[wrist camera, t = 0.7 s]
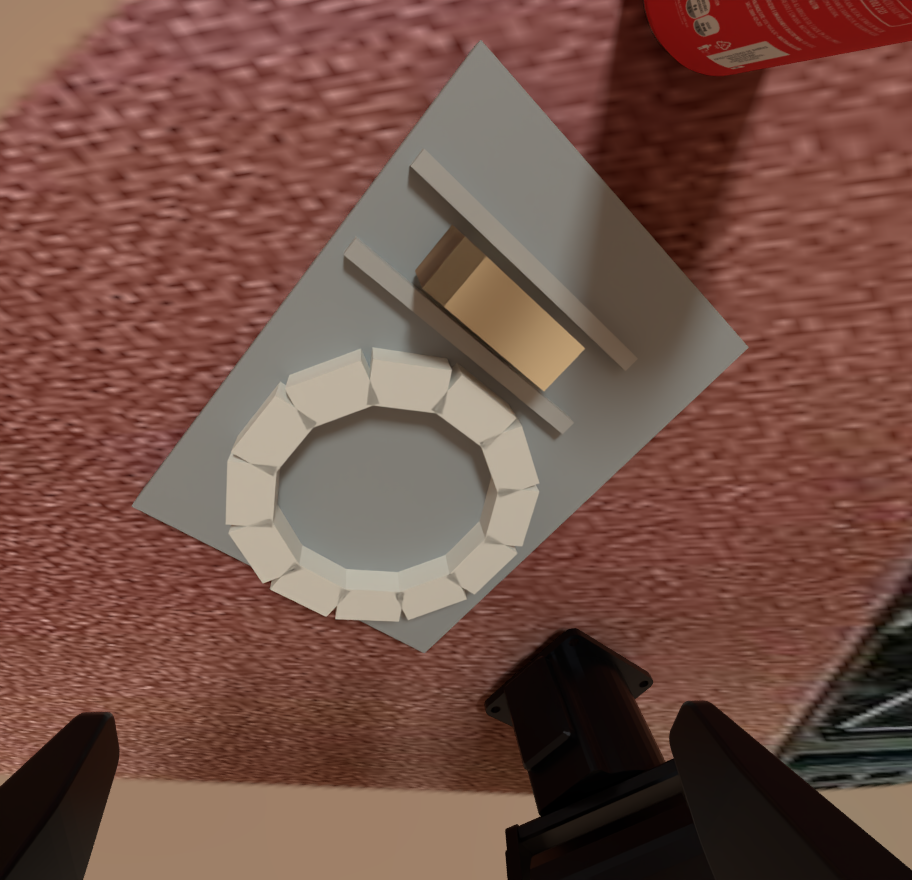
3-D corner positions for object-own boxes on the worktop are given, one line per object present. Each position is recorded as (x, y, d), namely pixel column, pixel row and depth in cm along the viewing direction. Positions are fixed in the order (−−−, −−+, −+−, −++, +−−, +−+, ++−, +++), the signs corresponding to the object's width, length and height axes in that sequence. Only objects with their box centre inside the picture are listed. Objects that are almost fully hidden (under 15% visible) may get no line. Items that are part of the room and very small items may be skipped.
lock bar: (560, 325, 19) (585, 348, 17) (523, 364, 20) (544, 391, 18) (452, 224, 17) (465, 236, 15) (414, 270, 18) (422, 288, 16)
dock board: (736, 340, 22) (768, 358, 20) (422, 639, 27) (426, 674, 25) (475, 44, 16) (489, 32, 14) (139, 494, 21) (118, 526, 19)
